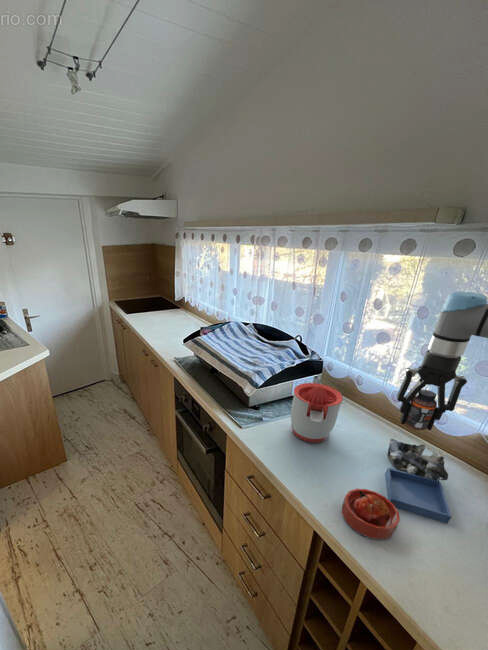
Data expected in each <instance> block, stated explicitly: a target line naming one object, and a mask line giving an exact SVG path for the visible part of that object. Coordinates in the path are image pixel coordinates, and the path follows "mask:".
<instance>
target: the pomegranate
mask: <svg viewBox="0 0 488 650" xmlns="http://www.w3.org/2000/svg"><path fill="white" fill-rule="evenodd" d="M358 492H360V494H361V496H360V498H358V499H356V501H355V502H354V511H355V514H356V515H357V516H358V517H359V518H360V519H362V520H364V521H366V520H368V521H371V520H373V519H375V520H376V522H377V523H378V524H379V522H378V521H377V519H378V518H380V517H382V516H386V515H388V513H389V509H388V507H387V505H386V504H385V502H384V501H383V500H382V499H381V498H380V497H378V496H376V495H374V494H367V495H364V494H363V493H362V492H361V490H360V491H358ZM379 526H380V524H379Z"/></svg>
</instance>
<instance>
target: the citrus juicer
mask: <svg viewBox="0 0 488 650" xmlns="http://www.w3.org/2000/svg"><path fill="white" fill-rule="evenodd" d="M343 398H344V397H343V395H342V393H341V392H340V391H338V390H337V389H335V388H334V387H332V386H330V385H326V384H323V383H315V382H305V383H300V384H298V385H296V386H295V387H294V388H293V397H292V404H291V410H290V423H291V424H290V425H291V429H292V430H291V431H292V433H293V434H294V435H295V436H296V437H297V438H298V439H300V440H301V441H304V442H308V443H313V444H314V443H317V444H318V443H321V442H324V441H325V440H326V439H328V437H329V436H330V435H331V432H332V431H333V429H334V427H335V425H336V422H337V419H338V415H339V411H340V407H341V405H342V404H341V403H342V402H343Z"/></svg>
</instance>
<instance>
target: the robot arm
mask: <svg viewBox="0 0 488 650" xmlns="http://www.w3.org/2000/svg"><path fill="white" fill-rule="evenodd" d="M472 336H475V337H480V338H486V339H488V296H487V294H483V293H479V292H478V293H477V292H472V291H455V292H452V293H450V294H448V296H447V297H446V300H445V302H444V304H443V306H442V309H441V310H440V314H439V316H438V319H437V322H436V325H435V327H434V330H433V333H432V336H431V338H430V341H429V344H428V346H427V349H428V350H426V351H425V354H424V356H423V359H422V362H421V365H420V366H418V367H417V368H410V367H407V368H405V376H404V379H403V381H402V383H401V385H400V388H399V389H398V392H397V393H396V400H397V402H401V405H400V408H399V411H400V413H401V416H400V420H399V422H400V425H405V424H404V423H405V420H406V418H407V415H408V413H409V410H410V407H411V404H410V403H411V401H412V399H413V398H414V397H415V396H417V395H418V393H419V391H420V390H423V388H425V387H426V386H427V385H428V386H431V385H432V386H435V387H437V406H436V408H435V411H434V413H433V415H432V418H431V420H430V422H429V425H428V427H427V428H426V429H427V430H428V431H432V429H433V426H434V424H435V421H440V420H441V418H442V416H443V414H445V413H446V411H449V412H453V411H454V410H455V407H456V405H457V403H458V399H459V397H460V394H461V390H462V388H463V387H464V386H465V385H466V384H467V382H468V380H467V379H466V377H465V376H464V375H458V374H457V370H458V367H459V365H460V362H461V361H462V356H464V354H465V351H466V349H467V347H468V344H469V342H470V340H471V337H472ZM417 374H418V376H419V378H418V380H417V382H416V383H415V384H414V385H413V386H412V388H411V389H409V387H410V384H411V382H412V379H413V378H414V377H415V376H416V375H417ZM451 381H453V385H452V388H451V391H450V393H449V396H448V400H447V403H446V384H448V383H449V382H451ZM408 389H409V391H408ZM407 391H408V392H407Z"/></svg>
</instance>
